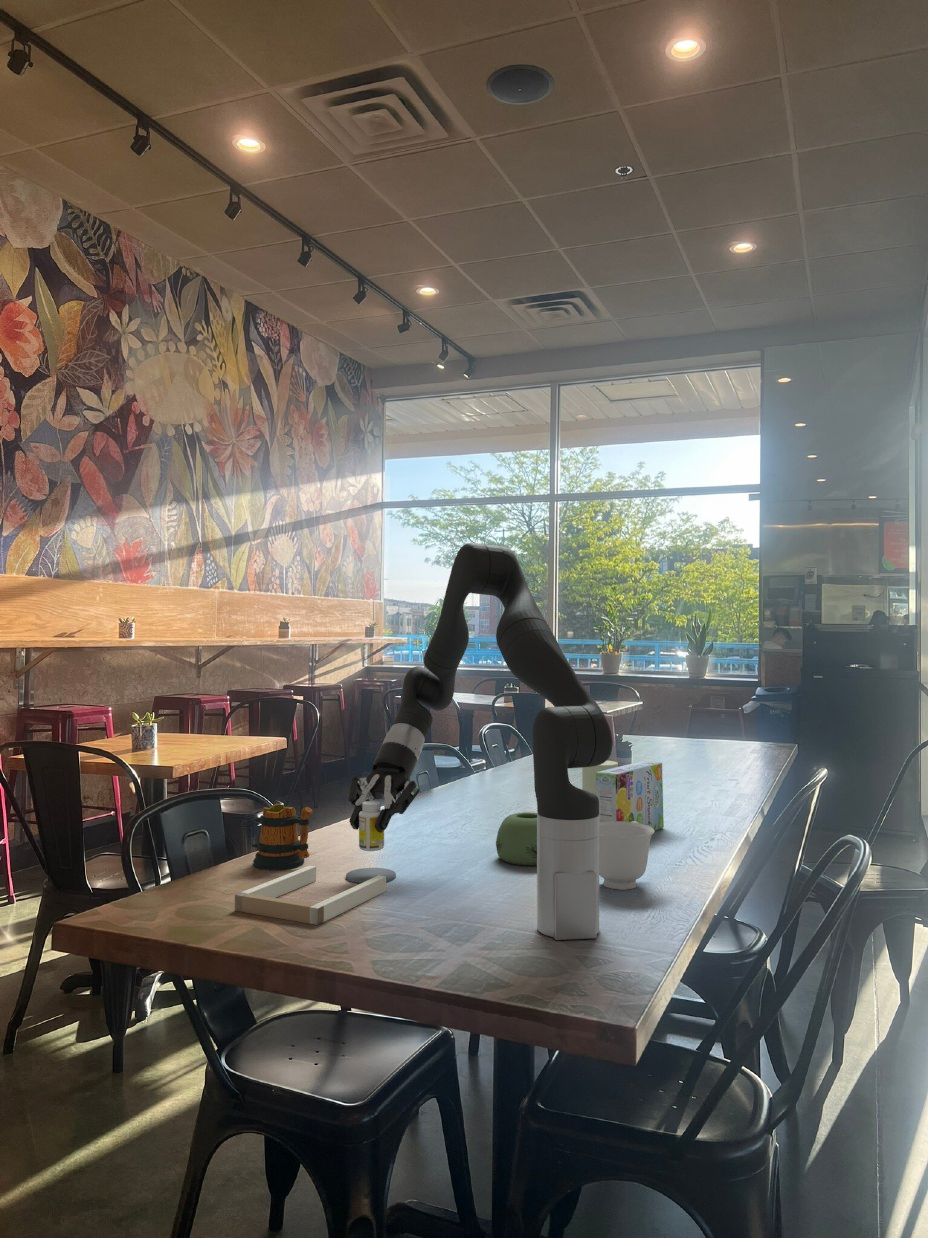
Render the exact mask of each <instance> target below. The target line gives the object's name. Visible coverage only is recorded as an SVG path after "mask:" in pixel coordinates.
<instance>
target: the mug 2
mask: <svg viewBox="0 0 928 1238" xmlns="http://www.w3.org/2000/svg"><path fill="white" fill-rule="evenodd" d="M495 847H496V851H497V856H498V857H499V859H501V860H502V861H504V862H506V863H508V864H512V865H520V866H537V812H527V811H526V812H518V813H514V814H513V813H512V814H509V815H508V816H506V817H505V818H504V819H503V820H502V821H501V824H500V826H499V827H498V831H497V835H496V839H495Z"/></svg>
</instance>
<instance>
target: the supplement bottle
mask: <svg viewBox="0 0 928 1238" xmlns="http://www.w3.org/2000/svg"><path fill="white" fill-rule="evenodd" d="M381 808H382V807H381V801H378V800H377V801H366V802H363V805H362V810H363V811H361V812H360V813H359V829H358V847H359V850H361V851H365V852H376V851H381V850H383V849H384V847H385V830H384V831H383V832H382V833H380V832H378V831H377V830H376V828H375V824H376V821H377V819H378V817H379V815H380V812H381V810H382V809H381Z"/></svg>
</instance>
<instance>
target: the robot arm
mask: <svg viewBox="0 0 928 1238" xmlns="http://www.w3.org/2000/svg"><path fill="white" fill-rule="evenodd" d="M523 572H524V571H522V567H521V565H520V563H519V560H518V558H517V557H516V555H515V554H514V552H513V550H511V549H509V548H507V547H504V546H502V545H495V544H486V543H480V542H467V543H465V544H463V545H462V546H461V547H460V548H459V549H458V551H457V553H456V555H455V558H454V561H453V564H452V567H451V570H450V574H449V577H448V582H447V586H446V589H445V593H444V594H445V595H444V597H443V602H442V606H441V611H440V615H439V619H438V620H437V621H438V622H437V625H436V628H435V630H434V633H433V634H432V636H431V640H430V641H429V643H428V647H427V649H426V651H425V653H424V657H423V665H424V667H423V666H420V665H417V666H413V667H411V668H410V669H409V670H408V671H407V672H406V674H405V675H404V679H403V683H402V691H401V692H402V693H401V701H400V705H399V708H398V709H399V710H398V711H397V715H396V717H395V719H394V720H393V723H392V725H391V727H390V729H389V730H388V732H387V733H386V735H385V737H384V740H382V741H383V742H382V744H381V746H380V748H379V751H378V752H377V754H376V756H375V759H374V760H373V764H372V769H371V771H370V773H368V774H367V776H365V777H360V778H359V775H354V776H353V777H352V779H351V783H350V784H351V785H350V790H349V795H348V802H349V803H350V805H351V807H352V808H353V811H352V813H351V815H350V818H349V824H350V827H352V829H353V830H358V831H359V813H360V812H361V811H363V810H362V805H363V802H366V801H378V800H384V805H383V808H382V809H380V810H381V812H380V815H379V817H378V819H377V821H376V824H375V828H376V830H377V831H378V832H380V833H382V832H383V831H384V832H385V831H386V830H387V828H388V826H389V823H390V821H391V819H392V817H393V816H394V815H396V814H399V815H403V814H404V813H405V812H406V811H407V809H408V808H409V806H410V805H411V804H412V803H413V801H414V800H415V798H416V797H417V795H418V794H419V793H420V788H419V786H418V785H417V783H416V781H415V780H411V781H410V779H411V777H412V775H413V772H414V770H415V768H416V766H417V763H418V761H419V758H420V756H421V753H422V751H423V748H424V744H425V740H426V738H427V736H428V733H429V731H430V729H431V726H432V724H433V722H434V721H433V716H432V713H431V712H430V711H429V710H428V708H429V709H432V710H433V711H437V712H439V711H444V710H445V709H447V708H448V707H449V706H450V704H451V703H452V701H453V699H454V694H455V693H454V692H455V683H456V674H457V670H458V669H459V666H460V664H461V661H462V660H463V657H464V655H465V653H466V650H467V648H468V645H469V639H470V637H469V635H470V633H469V627H468V622H467V620H466V616H465V610H464V604H465V602H466V599H467V598H468V596H469V594H476V595H483V596H484V595H485V596H493V597H495V598H497V599H499V601H500V602H501V604H502V606H503V608H504V610H503V613H502V615H501V617H500V619H499V621H498V624H497V626H496V627H497V628H496V634H495V639H496V644H497V647H498V649H499V651H500V654H501V655H502V659H504V662H505V664H506V666H507V668H508V669H509V671H510V673H511V674H512V675H514V677H515V678H517V680H519V681H520V682H521V683H523V684H524V685H526V686H527V687H528V688H530V689H531V690H533V691H534V692H536V693H537V694H538V695H539V696H542V698H544V699H545V700H546V701H548V702H549V703H550V704H552V705H553V706H548V707H543V708H542V709H540V710H539V711H538V712H537V714H536V715H535V718H534V721H533V724H532V725H533V726H532V734H531V735H532V737H531V738H532V739H531V740H532V742H531V743H532V757H533V759H532V761H533V781H534V792H535V793H534V794H535V799H536V805H537V806H536V809H537V811H536V813H537V865H536V907H537V908H536V910H537V912H536V918H537V919H536V927H537V931H538V932H539V933H541V934H543V935H545V936H548V937H551V938H553V939H554V940H555V941H561V940H564V941H565V940H584V939H585V940H586V939H597V938H598V937H597V934H599V933H600V875H599V799H598V797H597V796H596V795H595V794H594V793H591V792H589V791H585V790H582V788H578V787H577V786H575V785H574V784H572V783H571V781H570V778H569V777H570V776H569V771H568V770H569V769H582V767H592V766H597V765H601V764H603V763H604V762H606V761H609V759H610V757H611V755H612V752H613V751H612V750H613V745H614V744H613V742H614V741H613V735H612V731H611V727H610V724H609V722H608V720H607V718H606V715H605V714H604V712H603V710H602V709H601V707H600V705H599V704H598V703H597V701H595V699H594V697H593V696H592V695H591V693H590V692H589V691H588V689H587V688H586V687H585V685H584V684H583V683H582V681H581V680H580V678H579V677H578V675H577V674H576V672H575V671H574V669H573V667H572V666H571V664H570V662H569V661H568V659H567V657H566V656H565V654H564V652H563V650H562V649H561V647H560V644H559V642H558V640H557V638H556V637H555V635H554V633H553V631H552V629H551V628H550V626H549V624H548V622H547V620H546V619H545V617H544V616H543V614H542V613H541V610H540V608H539V607H538V605H537V602H536V600H535V598H534V597H533V595H532V593H531V591H530V588H529V585H528V583H527V581H526V578H525V575H524V573H523ZM426 707H428V708H426ZM399 794H400V795H399ZM398 795H399V796H398Z"/></svg>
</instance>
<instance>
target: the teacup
mask: <svg viewBox="0 0 928 1238" xmlns="http://www.w3.org/2000/svg"><path fill="white" fill-rule="evenodd" d="M655 832H656V830H655V831H654V829H653V828H652V827H650V826H647V825H644V824H639V823H638V822H635V821H633V822H621V821H607V822H599V877H601V878H602V879H603V883H602V884H603V886H604V887H606V888H608V889H611V890H621V891H628V890H632V889H635V888H637V880H639V879H640V878H642V877H643V875H644V874H645V873H646V869H647V865H648V859H649V851H650V844H651V839H652V836H653V834H655Z"/></svg>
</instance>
